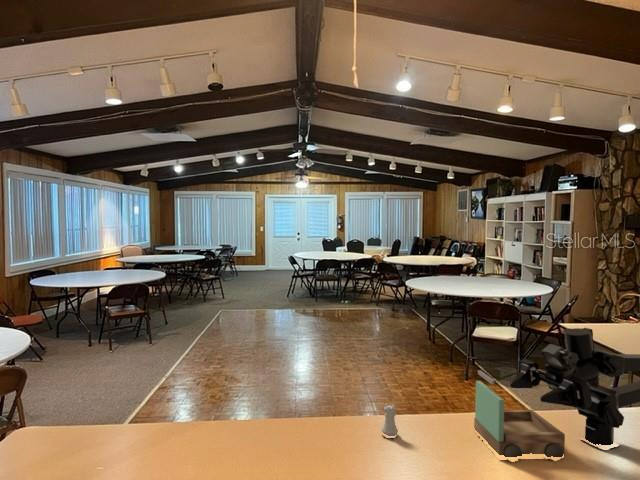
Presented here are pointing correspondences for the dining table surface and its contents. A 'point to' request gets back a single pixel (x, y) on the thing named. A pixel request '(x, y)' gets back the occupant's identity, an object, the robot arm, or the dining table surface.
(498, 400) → the panel
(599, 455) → the dining table surface
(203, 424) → the dining table surface
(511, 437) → the cart
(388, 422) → the rook chess piece
